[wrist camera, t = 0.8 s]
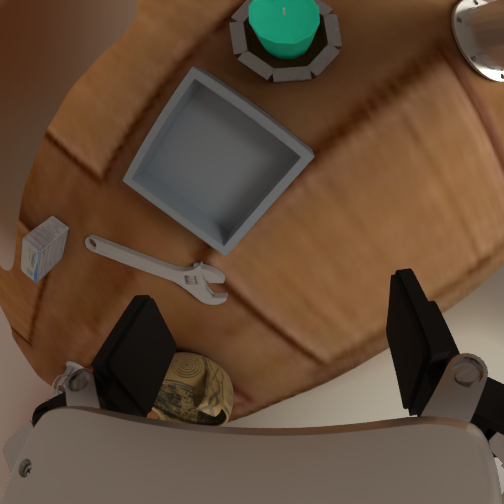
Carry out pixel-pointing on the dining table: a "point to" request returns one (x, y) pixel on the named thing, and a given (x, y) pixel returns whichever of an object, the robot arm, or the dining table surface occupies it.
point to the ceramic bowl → (195, 392)
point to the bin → (215, 160)
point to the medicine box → (43, 248)
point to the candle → (284, 25)
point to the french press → (65, 377)
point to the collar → (291, 73)
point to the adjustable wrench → (165, 269)
